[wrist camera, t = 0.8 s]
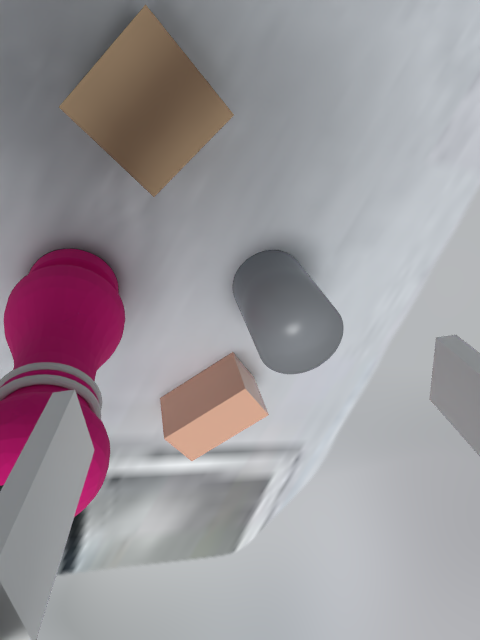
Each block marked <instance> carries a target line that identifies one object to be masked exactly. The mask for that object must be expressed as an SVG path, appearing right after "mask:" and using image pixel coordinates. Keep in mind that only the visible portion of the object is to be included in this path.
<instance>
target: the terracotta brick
mask: <svg viewBox="0 0 480 640" xmlns="http://www.w3.org/2000/svg"><path fill="white" fill-rule="evenodd" d="M160 401H161V411H162V421H163V432H164V439H165V440H166V441H168V442H169V443H170V444H171V445H172V446H174V447H175V448H176V449H177V450H179V451H180V452H181V453H182V454H184V455H185V456H186V457H187V458H188V459H190V460H191V461H193V460H195V459H196V458H198V457H200V456H201V455H203V454H205V453H206V452H208V451H210V450H211V449H213V448H215V447H216V446H218V445H220V444H221V443H223V442H225V441H226V440H228V439H229V438H231V437H233V436H234V435H236V434H238V433H239V432H241V431H243V430H244V429H246V428H248V427H249V426H251V425H253V424H254V423H256V422H258V421H259V420H261V419H263V418H264V417H266V416H268V412H267V409H266V407H265V404H264V402H263V399H262V396H261V394H260V391H259V389H258V386H257V384H256V381H255V378H254V377H253V376H252V375H251V373H250V372H249V371H248V370H247V369H246V367H245V366H244V365H243V364H242V363H241V362H240V360H239V359H238V358H237V357H236V356H235V354H234V353H233V352H232V353H231V354H229V355H227V356H226V357H224V358H223V359H221V360H220V361H218V362H216V363H215V364H213V365H212V366H210V367H209V368H207V369H205V370H204V371H202V372H201V373H199V374H197V375H196V376H194V377H193V378H191V379H190V380H188V381H186V382H185V383H183V384H182V385H180V386H179V387H177V388H175V389H174V390H172V391H171V392H169V393H167V394H166V395H164V396H163V397H161V398H160Z"/></svg>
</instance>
